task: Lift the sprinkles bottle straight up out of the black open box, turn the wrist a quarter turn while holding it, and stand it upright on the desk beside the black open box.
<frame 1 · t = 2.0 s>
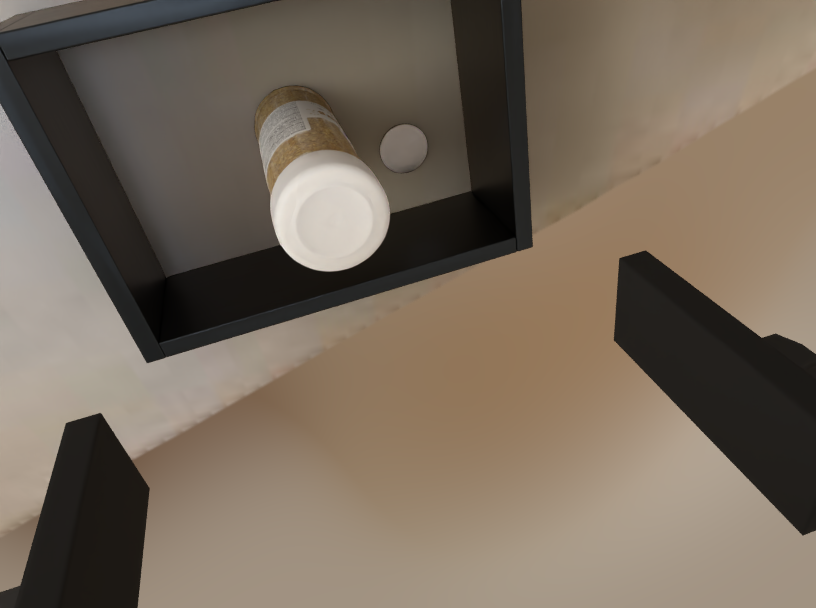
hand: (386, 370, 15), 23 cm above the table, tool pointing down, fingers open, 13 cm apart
black open box: (293, 124, 33), on the table
sprinkles bottle: (293, 123, 33), resting in black open box
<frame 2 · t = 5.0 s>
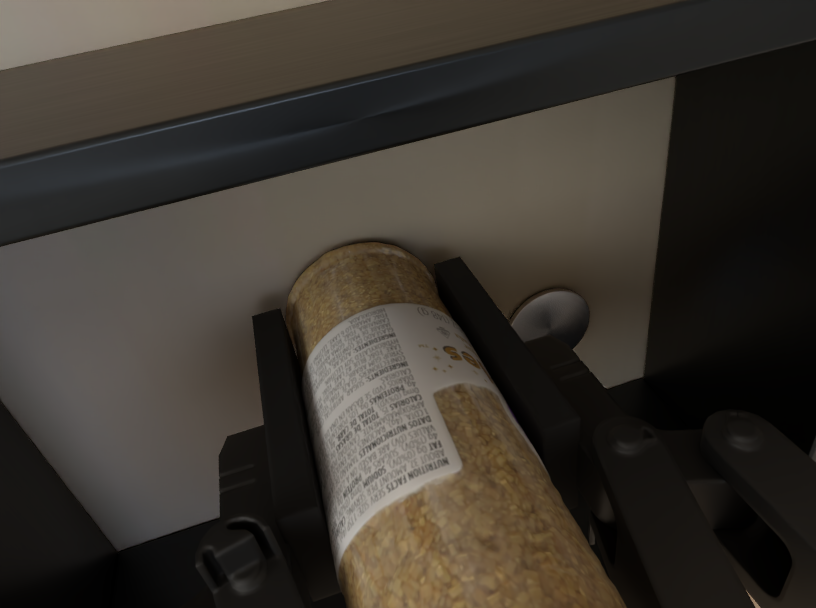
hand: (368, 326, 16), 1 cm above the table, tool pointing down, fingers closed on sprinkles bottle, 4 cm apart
black open box: (359, 304, 17), on the table
sprinkles bottle: (358, 301, 18), resting in black open box, touching gripper
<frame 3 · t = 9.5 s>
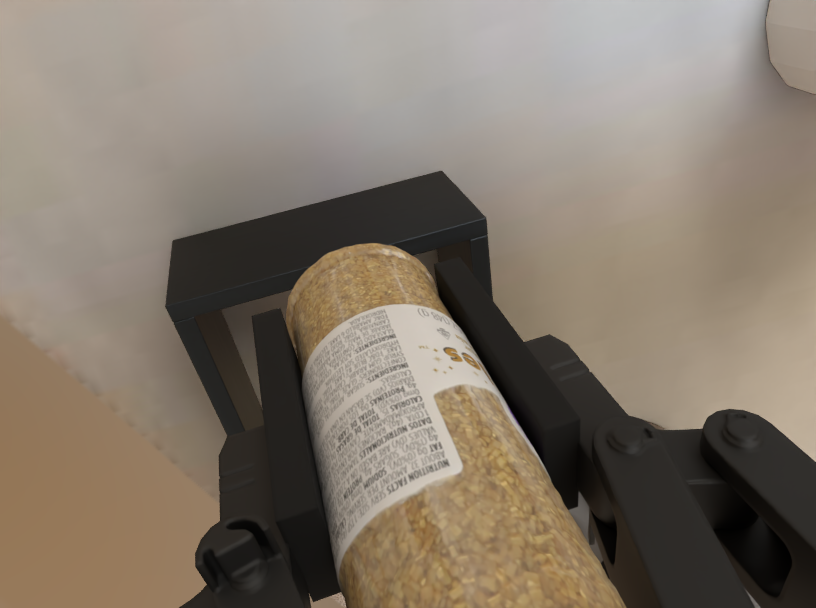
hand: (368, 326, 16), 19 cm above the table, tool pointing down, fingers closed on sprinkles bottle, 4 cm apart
black open box: (350, 349, 40), on the table
sprinkles bottle: (358, 301, 18), point 17 cm above the table, touching gripper
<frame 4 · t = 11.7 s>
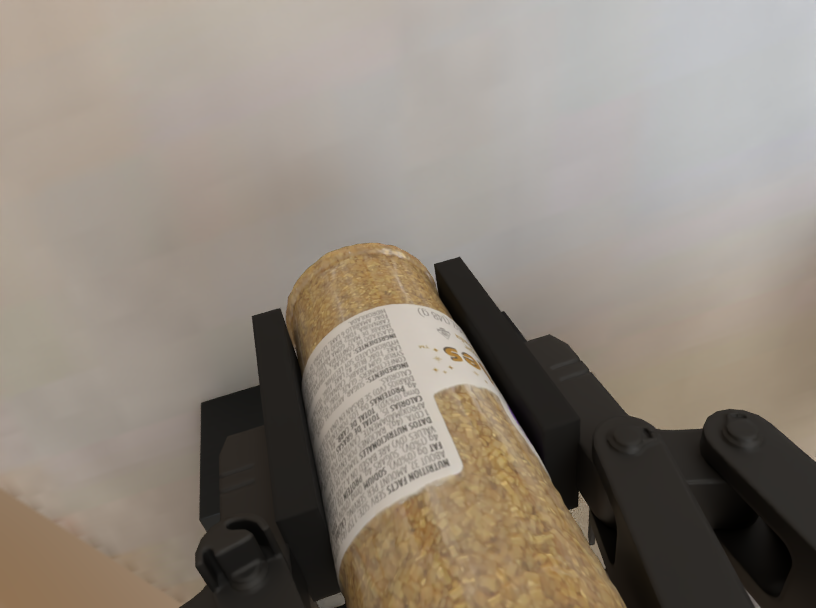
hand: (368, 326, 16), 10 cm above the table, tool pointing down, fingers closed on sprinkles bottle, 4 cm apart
black open box: (393, 490, 36), on the table
sprinkles bottle: (358, 301, 18), point 9 cm above the table, touching gripper
when the fingers open (1 cm above the table, at t = 14.0 s): sprinkles bottle stays where it is, on the table.
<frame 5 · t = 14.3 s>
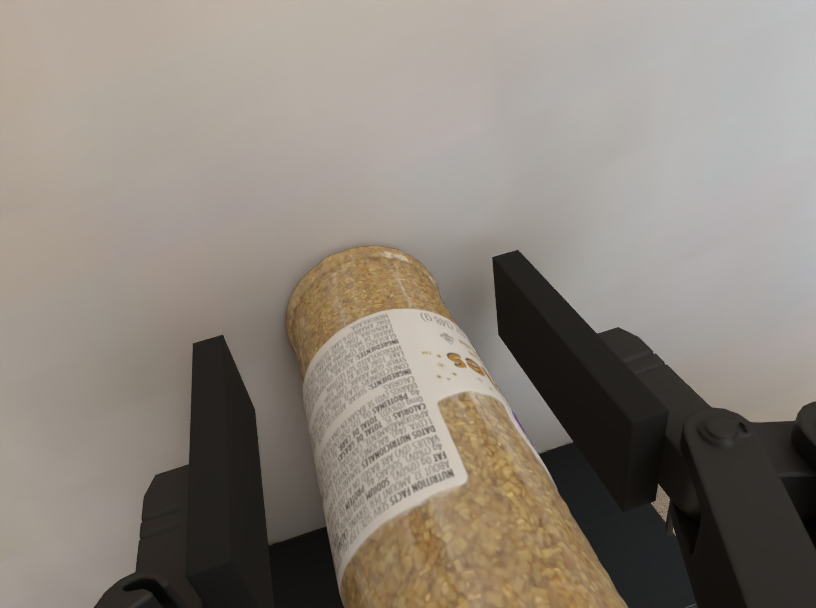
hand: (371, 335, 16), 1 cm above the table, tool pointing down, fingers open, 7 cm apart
sprinkles bottle: (359, 305, 17), on the table
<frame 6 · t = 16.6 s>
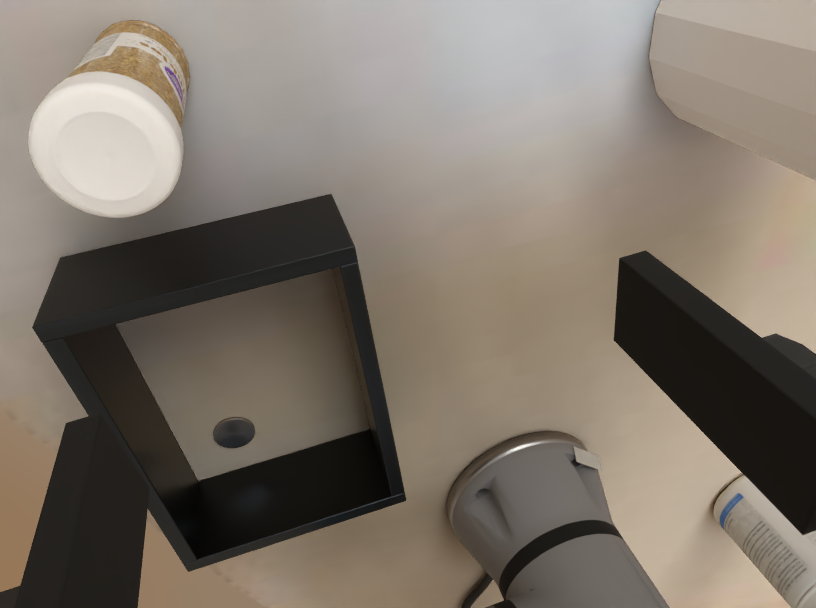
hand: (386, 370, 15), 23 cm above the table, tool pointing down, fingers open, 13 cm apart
black open box: (251, 361, 41), on the table
supplement tub: (743, 490, 73), on the table
container: (739, 21, 38), on the table
sprinkles bottle: (141, 66, 30), on the table
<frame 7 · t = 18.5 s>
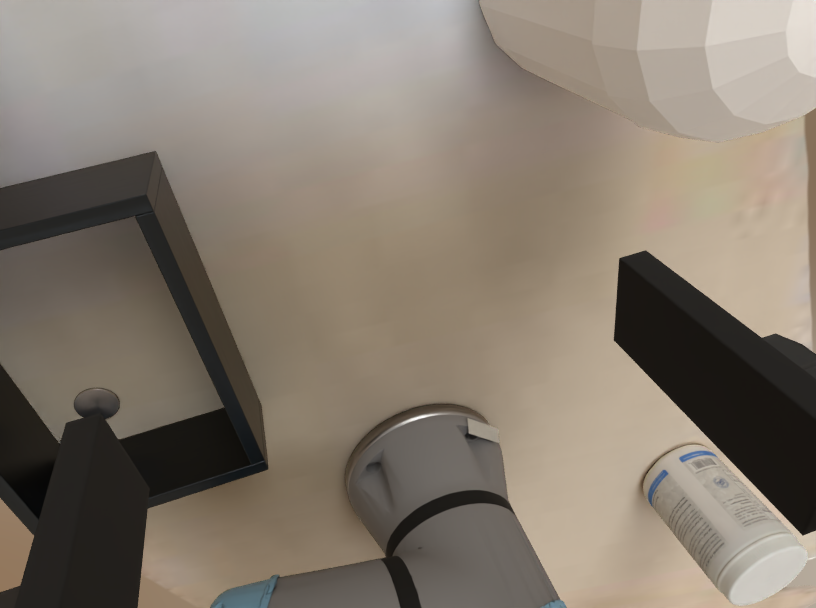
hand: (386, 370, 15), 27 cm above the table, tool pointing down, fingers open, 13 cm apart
black open box: (102, 329, 41), on the table
supplement tub: (673, 468, 71), on the table
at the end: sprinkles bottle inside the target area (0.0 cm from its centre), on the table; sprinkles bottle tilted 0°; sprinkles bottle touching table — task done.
